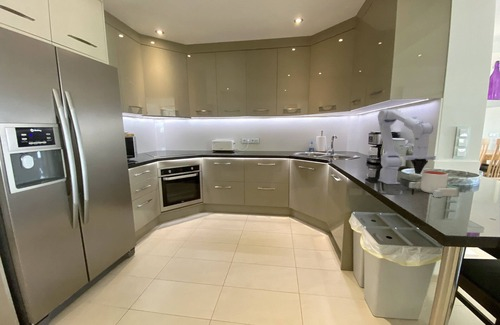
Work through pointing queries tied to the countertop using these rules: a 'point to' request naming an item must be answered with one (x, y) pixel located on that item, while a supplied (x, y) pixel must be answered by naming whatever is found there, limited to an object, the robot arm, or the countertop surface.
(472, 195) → the countertop surface
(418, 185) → the end holder
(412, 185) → the clip post
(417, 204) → the countertop surface
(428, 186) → the cup
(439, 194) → the clip post
